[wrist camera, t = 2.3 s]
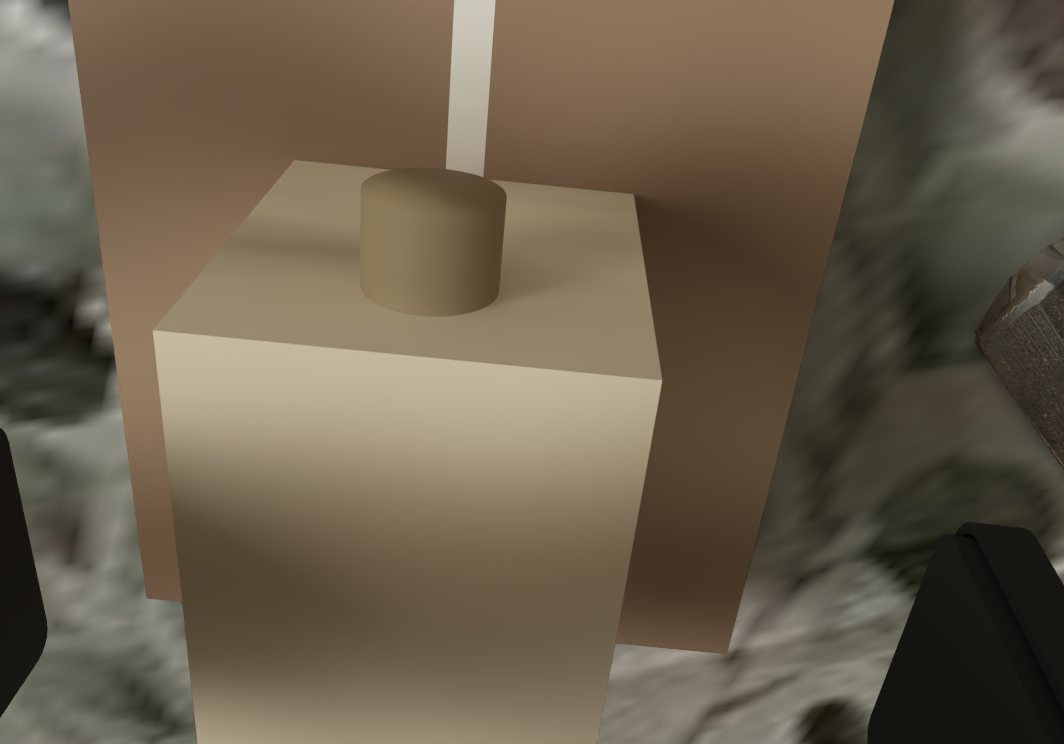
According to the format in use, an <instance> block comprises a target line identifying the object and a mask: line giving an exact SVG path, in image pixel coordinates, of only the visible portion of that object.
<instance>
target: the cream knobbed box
mask: <svg viewBox="0 0 1064 744" xmlns="http://www.w3.org/2000/svg"><path fill="white" fill-rule="evenodd" d="M153 337H154V347H155V356H156V365H157V374H158V383H159V393H160V402H161V411H162V420H163V429H164V439H165V448H166V457H167V466H168V475H169V484H170V494H171V503H172V512H173V521H174V530H175V540H176V549H177V558H178V567H179V576H180V586H181V595H182V604H183V613H184V622H185V632H186V641H187V650H188V659H189V668H190V678H191V687H192V696H193V705H194V714H195V724H196V733H197V742H198V744H597V742H598V736H599V731H600V725H601V719H602V714H603V708H604V703H605V697H606V692H607V686H608V680H609V675H610V669H611V664H612V658H613V653H614V647H615V641H616V636H617V630H618V625H619V619H620V614H621V608H622V602H623V597H624V591H625V586H626V580H627V575H628V569H629V563H630V558H631V552H632V547H633V541H634V536H635V530H636V524H637V519H638V513H639V508H640V502H641V497H642V491H643V485H644V480H645V474H646V469H647V463H648V458H649V452H650V446H651V441H652V435H653V430H654V424H655V419H656V413H657V407H658V402H659V396H660V391H661V385H662V375H661V369H660V362H659V356H658V349H657V343H656V336H655V330H654V323H653V317H652V310H651V304H650V297H649V291H648V284H647V278H646V271H645V265H644V258H643V252H642V245H641V239H640V232H639V226H638V219H637V213H636V206H635V200H634V194H628V193H618V192H608V191H598V190H588V189H578V188H568V187H558V186H548V185H538V184H529V183H519V182H509V181H499V180H489V179H486V178H484V177H481V176H478V175H474V174H471V173H466V172H462V171H456V170H449V169H440V168H403V169H395V170H389V169H380V168H370V167H360V166H350V165H340V164H330V163H320V162H310V161H300V160H294V161H293V162H292V164H291V165H290V166H289V167H288V168H287V170H286V171H285V172H284V173H283V174H282V176H281V177H280V178H279V179H278V180H277V182H276V183H275V184H274V185H273V186H272V188H271V189H270V190H269V191H268V192H267V194H266V195H265V196H264V197H263V198H262V200H261V201H260V202H259V203H258V204H257V206H256V207H255V208H254V209H253V210H252V212H251V213H250V214H249V215H248V216H247V218H246V219H245V220H244V221H243V222H242V224H241V225H240V226H239V227H238V228H237V230H236V231H235V232H234V233H233V234H232V236H231V237H230V238H229V239H228V240H227V242H226V243H225V244H224V245H223V246H222V248H221V249H220V250H219V251H218V252H217V254H216V255H215V256H214V257H213V258H212V260H211V261H210V262H209V263H208V264H207V266H206V267H205V268H204V269H203V271H202V272H201V273H200V274H199V275H198V277H197V278H196V279H195V280H194V281H193V283H192V284H191V285H190V286H189V287H188V289H187V290H186V291H185V292H184V293H183V295H182V296H181V297H180V298H179V299H178V301H177V302H176V303H175V304H174V305H173V307H172V308H171V309H170V310H169V311H168V313H167V314H166V315H165V316H164V317H163V319H162V320H161V321H160V322H159V323H158V325H157V326H156V327H155V328H154V329H153Z"/></svg>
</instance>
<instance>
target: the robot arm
mask: <svg viewBox="0 0 1064 744" xmlns="http://www.w3.org/2000/svg"><path fill="white" fill-rule="evenodd" d="M47 629H48V628H47V619H46V615H45V610H44V605H43V601H42V596H41V591H40V587H39V582H38V577H37V573H36V568H35V563H34V559H33V554H32V549H31V544H30V540H29V535H28V530H27V526H26V521H25V516H24V512H23V507H22V502H21V498H20V493H19V488H18V484H17V479H16V474H15V470H14V465H13V460H12V456H11V451H10V446H9V441H8V438H7V436H6V433H5V432H4V431H3V430H2V429H1V428H0V717H1V716H2V714H3V713H4V711H5V710H6V708H7V707H8V705H9V704H10V702H11V701H12V699H13V698H14V696H15V695H16V693H17V692H18V690H19V689H20V687H21V686H22V684H23V683H24V681H25V680H26V678H27V677H28V675H29V674H30V672H31V671H32V669H33V668H34V666H35V665H36V663H37V662H38V660H39V658H40V656H41V654H42V652H43V649H44V646H45V642H46V638H47ZM867 741H868V744H1064V585H1063V583H1062V582H1061V580H1060V578H1059V576H1058V575H1057V573H1056V571H1055V570H1054V568H1053V566H1052V564H1051V563H1050V561H1049V559H1048V558H1047V556H1046V554H1045V552H1044V551H1043V549H1042V547H1041V546H1040V544H1039V542H1038V540H1037V539H1036V537H1035V536H1034V535H1033V534H1032V533H1031V531H1029V530H1027V529H1024V528H1017V527H1008V526H1000V525H991V524H982V523H973V522H968V523H964V524H963V525H962V526H961V527H960V528H959V529H958V531H957V532H956V534H955V535H948V534H947V535H943V536H942V537H941V538H940V539H939V541H938V543H937V545H936V547H935V549H934V552H933V555H932V557H931V560H930V562H929V565H928V568H927V570H926V573H925V576H924V578H923V581H922V583H921V586H920V589H919V591H918V594H917V596H916V599H915V602H914V604H913V607H912V610H911V612H910V615H909V617H908V620H907V623H906V625H905V628H904V630H903V633H902V636H901V638H900V641H899V644H898V646H897V649H896V651H895V654H894V657H893V659H892V662H891V664H890V667H889V670H888V672H887V675H886V678H885V680H884V683H883V685H882V688H881V691H880V693H879V696H878V698H877V701H876V704H875V706H874V709H873V712H872V714H871V717H870V721H869V725H868V740H867Z"/></svg>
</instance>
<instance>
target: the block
mask: <svg viewBox="0 0 1064 744" xmlns="http://www.w3.org/2000/svg"><path fill="white" fill-rule="evenodd" d="M1011 277H1012V276H1011ZM1011 277H1010V279H1011ZM1010 279H1009V281H1007V283H1006V285H1005V286H1004V288H1003V289H1002V291H1001V292H1000V293H999V294H998V296H997V297H996V299H995V300H994V302H993V303H992V305H991V306H990V308H989V310H988V311H987V314H986V315H985V317H984V320H983V322H982V324H981V326H980V328H979V331H978V333H977V331H976V330H975V331H976V334H977V337H976V340H975V343H976V345H977V346H978V347H979V349H980V350H981V351H982V353H983V354H984V355H985V357H986V358H987V359H988V361H989V362H990V364H991V365H992V367H993V368H994V369H995V371H996V372H997V374H998V375H999V377H1000V378H1001V380H1002V381H1003V383H1004V384H1005V385H1006V387H1007V389H1008V390H1009V392H1010V393H1011V394H1012V396H1013V397H1014V399H1015V400H1016V402H1017V403H1018V405H1019V406H1020V407H1021V409H1022V410H1023V412H1024V413H1025V415H1026V416H1027V417H1028V419H1029V420H1030V421H1031V423H1032V424H1033V426H1034V427H1035V429H1036V430H1037V432H1038V433H1039V435H1040V436H1041V438H1042V439H1043V440H1044V442H1045V443H1046V445H1047V446H1048V448H1049V449H1050V450H1051V452H1052V453H1053V455H1054V456H1055V458H1056V459H1057V461H1058V462H1059V463H1060V465H1061V466H1062V467H1063V469H1064V239H1062V240H1061V241H1059V242H1057V243H1055V244H1053V245H1050V246H1048V247H1047V248H1045V249H1044V250H1043V251H1042V252H1040V253H1039V254H1038V255H1037V256H1035V257H1034V258H1033V259H1032V260H1030V261H1029V262H1028V263H1027V264H1025V265H1024V266H1023V267H1022V268H1021V269H1020V270H1019V272H1018V273H1017V274H1016V276H1015V277H1014V278H1013V280H1012V281H1011V282H1010Z"/></svg>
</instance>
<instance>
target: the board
mask: <svg viewBox="0 0 1064 744" xmlns="http://www.w3.org/2000/svg"><path fill="white" fill-rule="evenodd" d="M68 3H69V10H70V18H71V25H72V33H73V41H74V48H75V56H76V63H77V71H78V79H79V86H80V94H81V101H82V109H83V117H84V124H85V132H86V139H87V147H88V155H89V162H90V170H91V177H92V185H93V193H94V200H95V208H96V215H97V223H98V231H99V238H100V246H101V253H102V261H103V269H104V276H105V284H106V291H107V299H108V307H109V314H110V322H111V329H112V337H113V345H114V352H115V360H116V367H117V375H118V383H119V390H120V398H121V405H122V413H123V421H124V428H125V436H126V443H127V451H128V459H129V466H130V474H131V481H132V489H133V497H134V504H135V512H136V519H137V527H138V535H139V542H140V550H141V557H142V565H143V573H144V580H145V588H146V595H147V598H149V599H159V600H169V601H180V602H182V595H181V586H180V576H179V567H178V558H177V549H176V540H175V530H174V521H173V512H172V503H171V494H170V484H169V475H168V466H167V457H166V448H165V439H164V429H163V420H162V411H161V402H160V393H159V383H158V374H157V365H156V356H155V347H154V337H153V329H154V328H155V327H156V326H157V325H158V323H159V322H160V321H161V320H162V319H163V317H164V316H165V315H166V314H167V313H168V311H169V310H170V309H171V308H172V307H173V305H174V304H175V303H176V302H177V301H178V299H179V298H180V297H181V296H182V295H183V293H184V292H185V291H186V290H187V289H188V287H189V286H190V285H191V284H192V283H193V281H194V280H195V279H196V278H197V277H198V275H199V274H200V273H201V272H202V271H203V269H204V268H205V267H206V266H207V264H208V263H209V262H210V261H211V260H212V258H213V257H214V256H215V255H216V254H217V252H218V251H219V250H220V249H221V248H222V246H223V245H224V244H225V243H226V242H227V240H228V239H229V238H230V237H231V236H232V234H233V233H234V232H235V231H236V230H237V228H238V227H239V226H240V225H241V224H242V222H243V221H244V220H245V219H246V218H247V216H248V215H249V214H250V213H251V212H252V210H253V209H254V208H255V207H256V206H257V204H258V203H259V202H260V201H261V200H262V198H263V197H264V196H265V195H266V194H267V192H268V191H269V190H270V189H271V188H272V186H273V185H274V184H275V183H276V182H277V180H278V179H279V178H280V177H281V176H282V174H283V173H284V172H285V171H286V170H287V168H288V167H289V166H290V165H291V164H292V162H293V161H294V160H300V161H310V162H320V163H330V164H340V165H350V166H360V167H370V168H380V169H389V170H395V169H403V168H440V169H449V170H456V171H462V172H466V173H471V174H474V175H478V176H481V177H484V178H486V179H489V180H499V181H509V182H519V183H529V184H538V185H548V186H558V187H568V188H578V189H588V190H598V191H608V192H618V193H628V194H634V200H635V206H636V213H637V219H638V226H639V232H640V239H641V245H642V252H643V258H644V265H645V271H646V278H647V284H648V291H649V297H650V304H651V310H652V317H653V323H654V330H655V336H656V343H657V349H658V356H659V362H660V369H661V375H662V385H661V391H660V396H659V402H658V407H657V413H656V419H655V424H654V430H653V435H652V441H651V446H650V452H649V458H648V463H647V469H646V474H645V480H644V485H643V491H642V497H641V502H640V508H639V513H638V519H637V524H636V530H635V536H634V541H633V547H632V552H631V558H630V563H629V569H628V575H627V580H626V586H625V591H624V597H623V602H622V608H621V614H620V619H619V625H618V630H617V636H616V641H615V643H617V644H628V645H638V646H648V647H659V648H669V649H680V650H690V651H700V652H711V653H721V654H727V652H728V648H729V644H730V640H731V636H732V632H733V628H734V624H735V620H736V617H737V613H738V609H739V605H740V601H741V597H742V593H743V589H744V585H745V581H746V578H747V574H748V570H749V566H750V562H751V558H752V554H753V550H754V546H755V543H756V539H757V535H758V531H759V527H760V523H761V519H762V515H763V511H764V507H765V504H766V500H767V496H768V492H769V488H770V484H771V480H772V476H773V472H774V468H775V465H776V461H777V457H778V453H779V449H780V445H781V441H782V437H783V433H784V429H785V426H786V422H787V418H788V414H789V410H790V406H791V402H792V398H793V394H794V390H795V387H796V383H797V379H798V375H799V371H800V367H801V363H802V359H803V355H804V351H805V348H806V344H807V340H808V336H809V332H810V328H811V324H812V320H813V316H814V312H815V309H816V305H817V301H818V297H819V293H820V289H821V285H822V281H823V277H824V273H825V270H826V266H827V262H828V258H829V254H830V250H831V246H832V242H833V238H834V234H835V231H836V227H837V223H838V219H839V215H840V211H841V207H842V203H843V199H844V195H845V192H846V188H847V184H848V180H849V176H850V172H851V168H852V164H853V160H854V156H855V153H856V149H857V145H858V141H859V137H860V133H861V129H862V125H863V121H864V117H865V114H866V110H867V106H868V102H869V98H870V94H871V90H872V86H873V82H874V78H875V75H876V71H877V67H878V63H879V59H880V55H881V51H882V47H883V43H884V39H885V36H886V32H887V28H888V24H889V20H890V16H891V12H892V8H893V4H894V0H68Z"/></svg>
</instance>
